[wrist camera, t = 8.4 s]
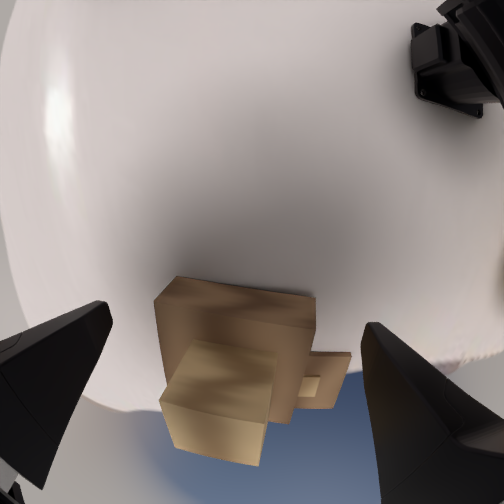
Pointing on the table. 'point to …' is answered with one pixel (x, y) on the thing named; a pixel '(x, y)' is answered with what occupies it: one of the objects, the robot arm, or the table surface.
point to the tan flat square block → (239, 329)
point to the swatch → (322, 379)
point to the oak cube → (220, 401)
